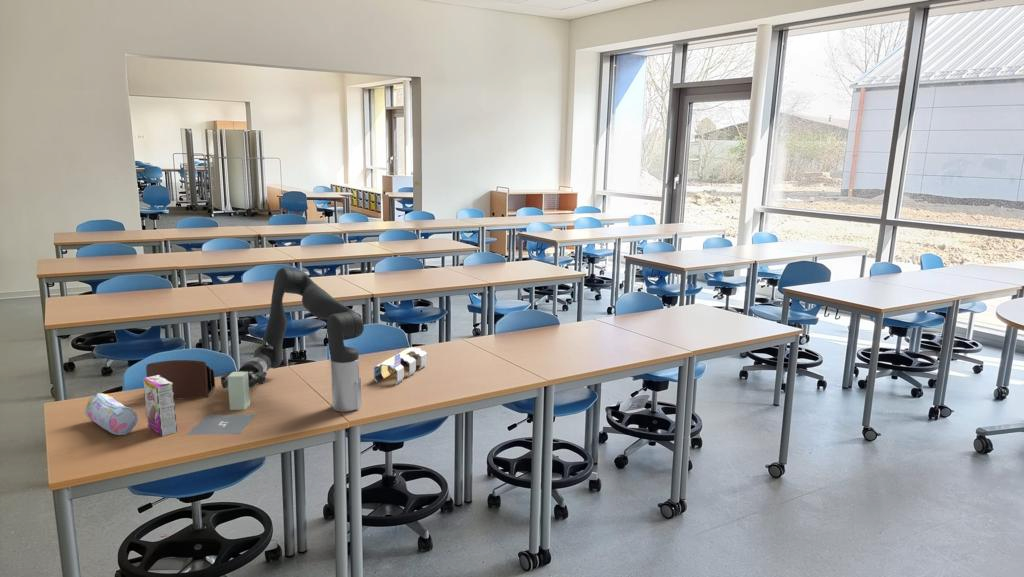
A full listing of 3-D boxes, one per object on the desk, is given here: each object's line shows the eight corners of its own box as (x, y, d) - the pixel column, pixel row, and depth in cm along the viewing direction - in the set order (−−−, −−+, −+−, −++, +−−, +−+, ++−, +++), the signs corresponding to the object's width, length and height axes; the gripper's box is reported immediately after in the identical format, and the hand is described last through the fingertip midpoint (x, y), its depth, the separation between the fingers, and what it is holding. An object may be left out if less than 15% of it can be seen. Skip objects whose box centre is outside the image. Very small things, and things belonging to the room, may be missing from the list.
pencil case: (85, 422, 209) (82, 394, 207) (115, 415, 216) (112, 387, 214) (109, 441, 196) (106, 411, 194) (140, 432, 202) (137, 403, 201)
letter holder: (208, 397, 233) (205, 359, 230) (148, 400, 229) (144, 362, 227) (215, 388, 242) (212, 351, 240) (157, 391, 239) (154, 354, 236)
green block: (250, 405, 226) (247, 371, 224) (244, 410, 221) (242, 376, 219) (235, 405, 226) (233, 371, 224) (229, 410, 221) (227, 376, 219)
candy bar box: (147, 427, 206) (142, 377, 203) (163, 423, 209) (159, 374, 206) (161, 437, 199) (156, 386, 195) (178, 432, 202) (173, 382, 199)
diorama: (397, 386, 248) (397, 352, 246) (373, 382, 251) (373, 350, 249) (427, 367, 271) (426, 336, 269) (404, 364, 275) (404, 334, 272)
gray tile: (256, 415, 217) (256, 414, 217) (239, 434, 201) (239, 434, 201) (207, 415, 216) (207, 414, 216) (186, 435, 200) (186, 434, 200)
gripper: (232, 360, 235) (214, 374, 219) (272, 360, 236) (257, 374, 220) (233, 380, 237) (216, 395, 221) (273, 380, 237) (258, 395, 221)
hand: (236, 385), depth 220 cm, fingers open, 8 cm apart
